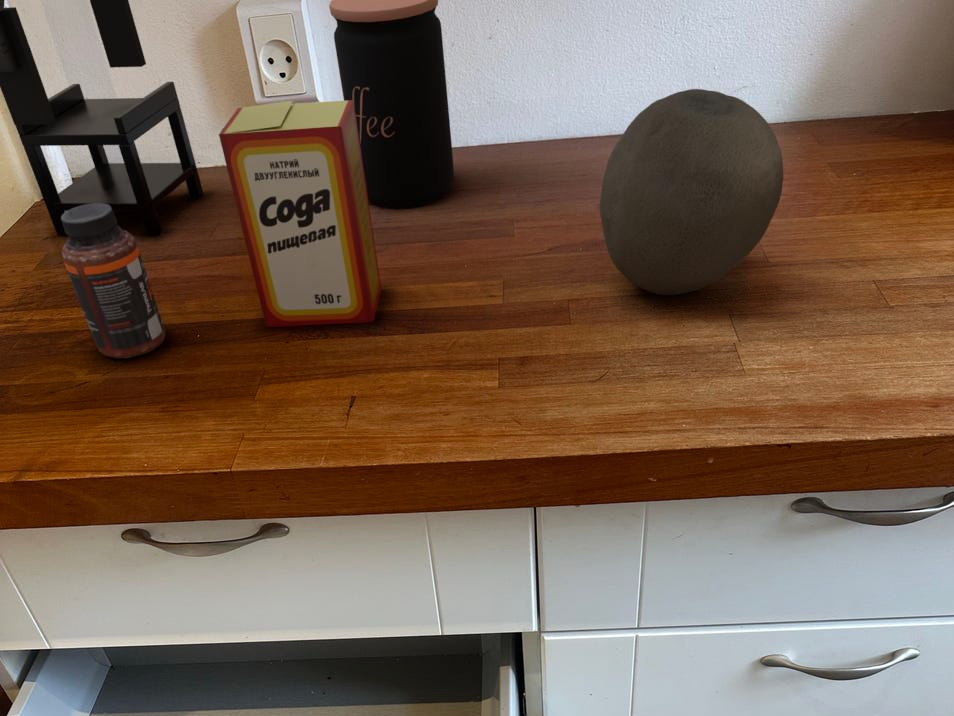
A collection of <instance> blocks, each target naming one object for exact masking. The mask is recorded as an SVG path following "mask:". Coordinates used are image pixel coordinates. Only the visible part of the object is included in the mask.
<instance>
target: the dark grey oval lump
mask: <svg viewBox="0 0 954 716" xmlns="http://www.w3.org/2000/svg"><path fill="white" fill-rule="evenodd" d="M783 184H784V162H783V155H782V151H781V147H780V144H779V141H778V139H777V136H776V134H775V132H774V130H773V128H772V127H771V125H770V124H769V122H768V121H767V120H766V118H765V117H764V116H763V115H761V113H760V112H759V111H757V110H756V109H755V107H753V106H751V105H750V104H749V103H747V102H746V101H744V100H743V99H742V98H741V99H740V98H738V97H736V96H732V95H728V94H725V93H724V92H720V91H716V90H706V89H701V88H700V89H699V88H690V89H686V90H682V91H677V92H674V93H672V94H669V95H667V96H665V97H663V98H660V99H656V100H655V101H654V102H652V103H651V104H649V105H648V106H646V108H644V109H643V110H642V111H640V112H639V113H638V114H637V115H636V116H635V117H634V119H633V120H632V121H631V122H630V123H629V125H628V126H627V127H626V129H625V130H624V132H623V134H622V135H621V136H620V138H619V139H618V141H617V142H616V144H615V146H614V147H613V149H612V150H611V153H610V156H609V157H608V159H607V163H606V168H605V172H604V176H603V180H602V184H601V194H600V199H599V215H600V220H601V226H602V231H603V237H604V242H605V246H606V248H607V249H606V250H607V252H608V255H609V257H610V259H611V261H612V263H613V266H614V267H615V268H616V269H617V271H618V272H619V273H620V274H621V275H622V276H623V277H624V278H626V279H627V280H628V281H630V282H631V283H632V284H633V285H636V286H637V287H639V288H641V289H642V290H644V291H647V292H649V293H652V294H655V295H660V296H675V295H676V296H677V295H681V294H687V293H690V292H695V291H698V290H700V289H703V288H705V287H707V286H709V285H711V284H712V283H715V282H717V281H718V280H720V279H722V278H723V277H724V276H726V275H727V274H728V273H729V272H731V271H732V270H733V269H735V268H736V267H737V266H738V265H739V264H740V263H741V262H742V261H743V260H744V259H745V258H746V257H747V256H749V254H750V253H751V252H753V250H754V249H755V247H756V246H757V245H758V244H759V243H760V241H761V240H762V238H763V237H764V235H765V233H766V232H767V230H768V228H769V226H770V224H771V222H772V219H773V217H774V215H775V212H776V210H777V208H778V205H779V203H780V199H781V195H782V191H783Z"/></svg>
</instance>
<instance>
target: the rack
mask: <svg viewBox="0 0 954 716" xmlns="http://www.w3.org/2000/svg"><path fill="white" fill-rule="evenodd" d="M48 100H49V103H50V106H51V109H52V112H53V114H54V117H55V120H56V121H55V122H53V123H52V124H48V125H14V126H15V128H16V131H17V133H18V137H19V139H20V142H21V145H22V147H23V150H24V152H25V155H26V158H27V159H28V163H29V165H30V169H31V170H32V173H33V175H34V179H35V181H36V183H37V186H38V189H39V192H40V194H41V196H42V199H43V201H44V204H45V207H46V209H47V212H48V214H49V217H50V220H51V222H52V225H53V228H54V231H55V233H56V235H57V236H68V235H67V234H66V233H65V229H64V226H63V223H62V220H61V216H62V215H63V214H64V213H65V212H66V211H68V210H70V209H72V208H75V207H78V206H82V205H86V204H93V203H102V204H107V205H109V206H110V207H111V208H112V210H113V212H139V215H140V217H141V221H142V224H143V227H144V230H145V232H146V236H147V237H158V236H160V235H161V234H162V233H163V231H162V227H161V224H160V221H159V218H158V214H157V210H156V206H158V204H160V203H161V202H162V201H163V200H164V199H166V198H167V197H168V196H170V194H171V193H173V192H174V191H175V190H176V189H177V188H178V187H180V186H181V185H182V184H183V183H184V182H185V184H186V188H187V191H188V195H189V198H190V199H200V198H201V197H202V196H203V195H205V194H204V190H203V185H202V182H201V179H200V175H199V171H198V167H197V164H196V160H195V156H194V152H193V149H192V144H191V141H190V138H189V134H188V131H187V126H186V123H185V119H184V115H183V112H182V108H181V104H180V99H179V97H178V93H177V89H176V86H175V82H174V81H166V82H165V83H163V84H162V85H160V86H159V87H158V88H156V89H154V90H153V91H151V92H150V93H148V94H147V95H145V96H144V97H127V98H126V97H122V98H121V97H119V98H118V97H117V98H85V96H84V94H83V91H82V87H81V84H80V83H73V84H71V85H69V86H68V87H66V88H64V89H62V90H60V91H59V92H57V93H55V94H54V95H52V96H50V97H48ZM166 118H167V119H168V123H169V127H170V130H171V134H172V137H173V141H174V145H175V148H176V151H177V155H178V158H179V162H141V158H140V155H139V152H138V149H137V144H136V142H135V141H136V140H138V139H139V138H141V137H142V136H143V135H144V134H146V133H147V132H149V131H151V130H152V129H153V128H154V127H156V126H157V125H158V124H160V123H161V122H163V121H164V120H165V119H166ZM47 146H48V147H49V146H50V147H51V146H52V147H54V146H55V147H56V146H57V147H58V146H61V147H62V146H63V147H64V146H87V148H88V150H89V153H90V157H91V159H92V162H93V165H94V167H93V168H92V169H90V170H88V171H87V172H86V173H85V174H83V175H81V176H80V177H79V178H77V179H76V180H75V181H73V182H72V183H70V184H69V185H67V186H66V187H65V188H64V189H63V190H61V191H59V192H58V189H57V187H56V184H55V182H54V181H55V180H54V179H53V176H52V173H51V170H50V168H49V165H48V162H47V160H46V157H45V155H44V151H43V149H42V147H47ZM104 146H118V148H119V151H120V154H121V157H122V161H123V162H109V159H108V156H107V153H106V150H105V147H104Z"/></svg>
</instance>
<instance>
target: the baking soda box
mask: <svg viewBox="0 0 954 716" xmlns="http://www.w3.org/2000/svg"><path fill="white" fill-rule="evenodd" d="M293 102H294V100H293V99H292V100H286V101H280V102H279V101H278V102H272V103H266V104H258V105H252V106H244V107H238V108H237V109H236V110H235V112H234V113H233V114H232V115H231V117H230V118H229V120H228V121H227V123H225V125H224V126H223V128H222V129H221V131H220V132H219V133H218V138H219V140H220V145H221V148H222V149H221V150H222V154H223V157H224V161H225V166H226V169H227V173H228V178H229V181H230V186H231V189H232V194H233V198H234V202H235V207H236V210H237V214H238V217H239V218H238V219H239V223H240V227H241V230H242V233H243V234H242V235H243V238H244V243H245V247H246V250H247V256H248V258H249V259H248V260H249V263H250V267H251V271H252V274H253V279H254V283H255V288H256V291H257V296H258V299H259V303H260V308H261V311H262V315H263V319H264V323H265V328H282V327H299V326H300V327H302V326H319V325H321V326H322V325H323V326H324V325H341V324H361V323H362V324H363V323H374V320H375V316H376V312H377V309H378V305H379V301H380V296H381V293H382V289H383V288H382V282H381V277H380V276H381V275H380V269H379V263H378V256H377V249H376V242H375V237H374V236H375V235H374V228H373V222H372V216H371V209H370V202H369V201H368V195H367V189H366V182H365V176H364V169H363V162H362V156H361V149H360V142H359V136H358V129H357V123H356V116H355V109H354V103H353V100H347V101H344V100H335V101H334V100H333V101H332V100H331V101H316V102H298V103H293Z"/></svg>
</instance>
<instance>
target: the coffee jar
mask: <svg viewBox="0 0 954 716" xmlns="http://www.w3.org/2000/svg"><path fill="white" fill-rule="evenodd" d="M438 5H439V0H330V2H329V4H328V7H329V12H330V15H331V16H332V17H333V19H334V21H336V27H335V30H334V32H333V41H334V46H335V52H336V53H335V54H336V60H337V66H338V72H339V77H340V86H341V90H342V91H341V92H342V97H343V101H347V100H353V103H354V109H355V116H356V123H357V129H358V136H359V142H360V149H361V156H362V162H363V169H364V176H365V182H366V189H367V195H368V202H369V203H371V204H373V205H375V206H380V207H384V208H410V207H416V206H421V205H426V204H428V203H429V204H430V203H431V202H434V201H438V200H439V199H440V198H442V197H444V196H445V195H447V193H448V192H449V191H450V188H451V186H452V184H453V182H454V180H455V167H454V156H453V155H454V154H453V142H452V133H451V122H450V110H449V100H448V99H449V98H448V89H447V78H446V77H447V75H446V66H445V65H446V64H445V54H444V42H443V33H442V30H443V29H442V22H441V19H440V18H439V17H438V16H437V14H436V9H437V7H438Z"/></svg>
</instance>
